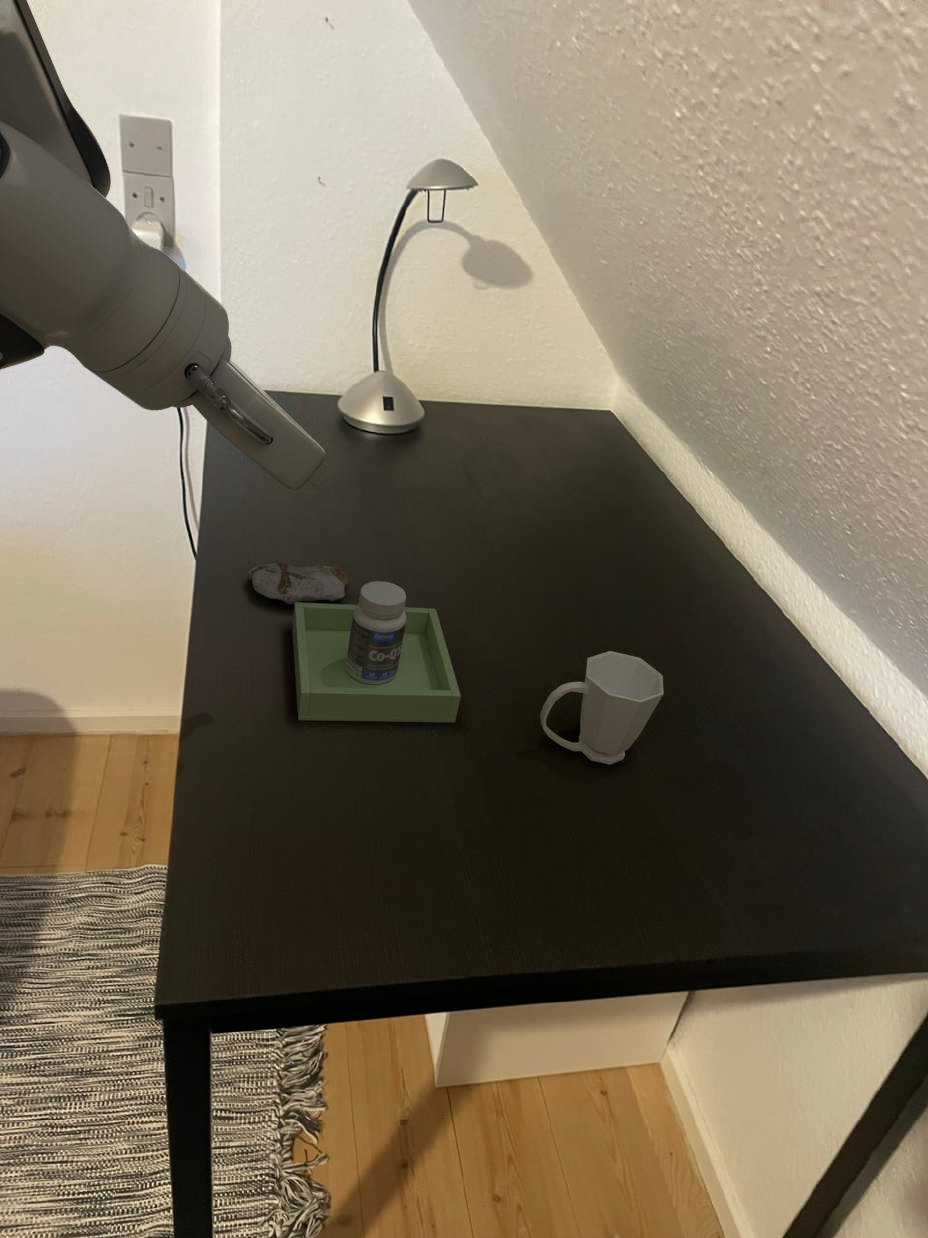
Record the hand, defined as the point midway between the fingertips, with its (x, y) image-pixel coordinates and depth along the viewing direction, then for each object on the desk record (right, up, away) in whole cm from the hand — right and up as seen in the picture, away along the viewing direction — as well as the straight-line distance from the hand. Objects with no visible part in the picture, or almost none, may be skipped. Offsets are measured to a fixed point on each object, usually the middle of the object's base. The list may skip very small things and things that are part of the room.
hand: (291, 444), depth 73 cm
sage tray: (+5, -18, +13) cm, 23 cm away
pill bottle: (+5, -18, +13) cm, 23 cm away
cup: (+24, -25, +10) cm, 36 cm away
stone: (-3, -11, +22) cm, 25 cm away
